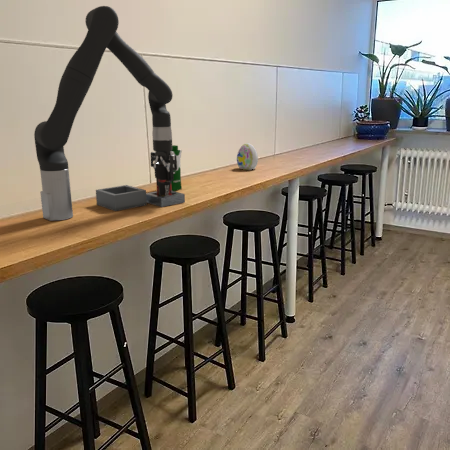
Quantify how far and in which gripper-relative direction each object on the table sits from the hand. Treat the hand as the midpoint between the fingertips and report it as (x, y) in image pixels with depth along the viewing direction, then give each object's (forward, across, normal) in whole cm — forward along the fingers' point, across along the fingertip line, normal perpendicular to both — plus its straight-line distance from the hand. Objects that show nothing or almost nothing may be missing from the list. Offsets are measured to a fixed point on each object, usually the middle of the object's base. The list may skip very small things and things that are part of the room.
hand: (164, 179), depth 180 cm
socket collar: (+9, 0, 0) cm, 9 cm away
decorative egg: (+10, -34, +85) cm, 92 cm away
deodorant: (+10, 0, 0) cm, 10 cm away
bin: (+9, -8, -15) cm, 20 cm away
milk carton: (+10, -18, +17) cm, 26 cm away
